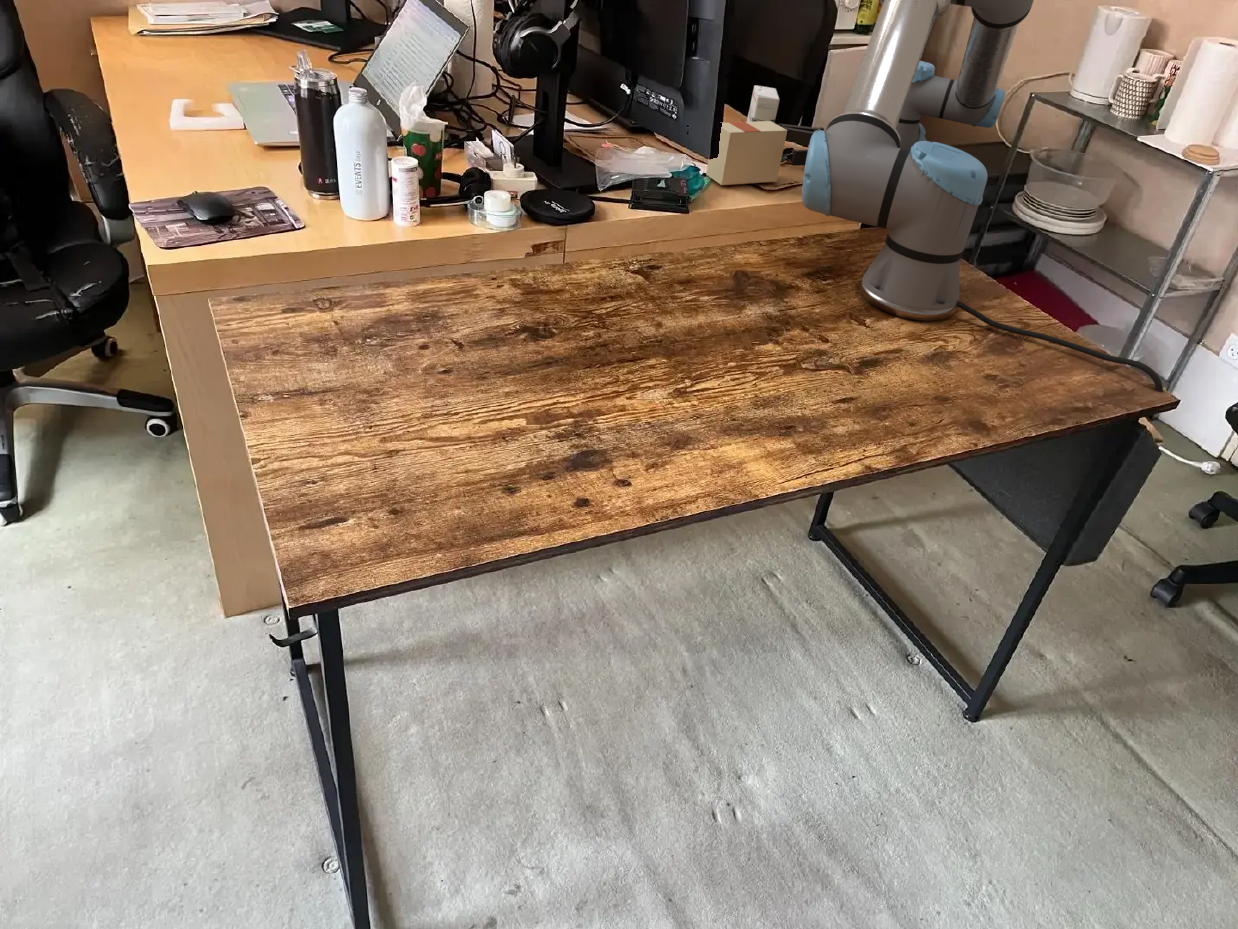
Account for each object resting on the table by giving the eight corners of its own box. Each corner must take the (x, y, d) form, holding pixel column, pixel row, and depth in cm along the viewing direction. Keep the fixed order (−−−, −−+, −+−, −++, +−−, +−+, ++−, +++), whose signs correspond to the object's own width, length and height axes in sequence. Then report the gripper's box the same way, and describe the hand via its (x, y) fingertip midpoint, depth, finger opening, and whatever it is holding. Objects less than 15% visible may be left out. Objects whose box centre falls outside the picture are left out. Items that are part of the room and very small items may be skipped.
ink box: (768, 155, 193) (780, 98, 186) (745, 152, 193) (757, 95, 186) (764, 142, 200) (776, 86, 193) (742, 139, 200) (753, 83, 193)
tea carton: (760, 171, 184) (770, 120, 178) (776, 181, 180) (787, 129, 174) (706, 174, 178) (714, 122, 173) (721, 185, 174) (730, 132, 168)
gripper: (892, 181, 180) (805, 187, 172) (819, 141, 198) (737, 145, 189) (903, 143, 176) (814, 147, 167) (827, 106, 193) (744, 108, 185)
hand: (773, 146), depth 178 cm, fingers open, 13 cm apart
